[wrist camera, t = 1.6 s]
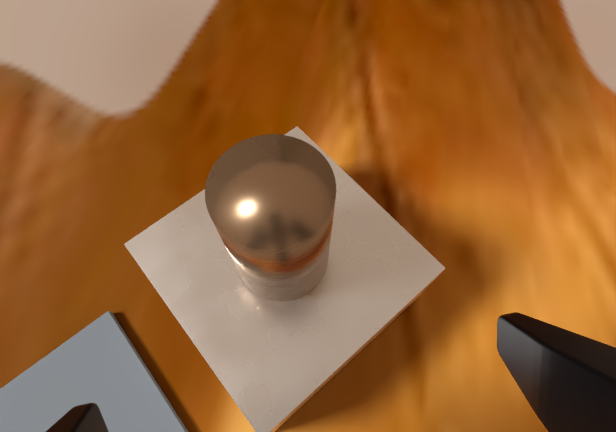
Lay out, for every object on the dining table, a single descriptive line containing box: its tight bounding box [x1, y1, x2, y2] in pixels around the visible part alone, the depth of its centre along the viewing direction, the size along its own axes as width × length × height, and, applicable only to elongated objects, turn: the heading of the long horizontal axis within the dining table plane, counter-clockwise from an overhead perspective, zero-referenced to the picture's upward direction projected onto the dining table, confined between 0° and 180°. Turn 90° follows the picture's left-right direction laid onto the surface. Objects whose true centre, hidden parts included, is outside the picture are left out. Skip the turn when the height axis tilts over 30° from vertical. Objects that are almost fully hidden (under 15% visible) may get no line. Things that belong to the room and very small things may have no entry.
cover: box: [124, 127, 445, 432], centre depth 17 cm, size 10×10×11 cm
